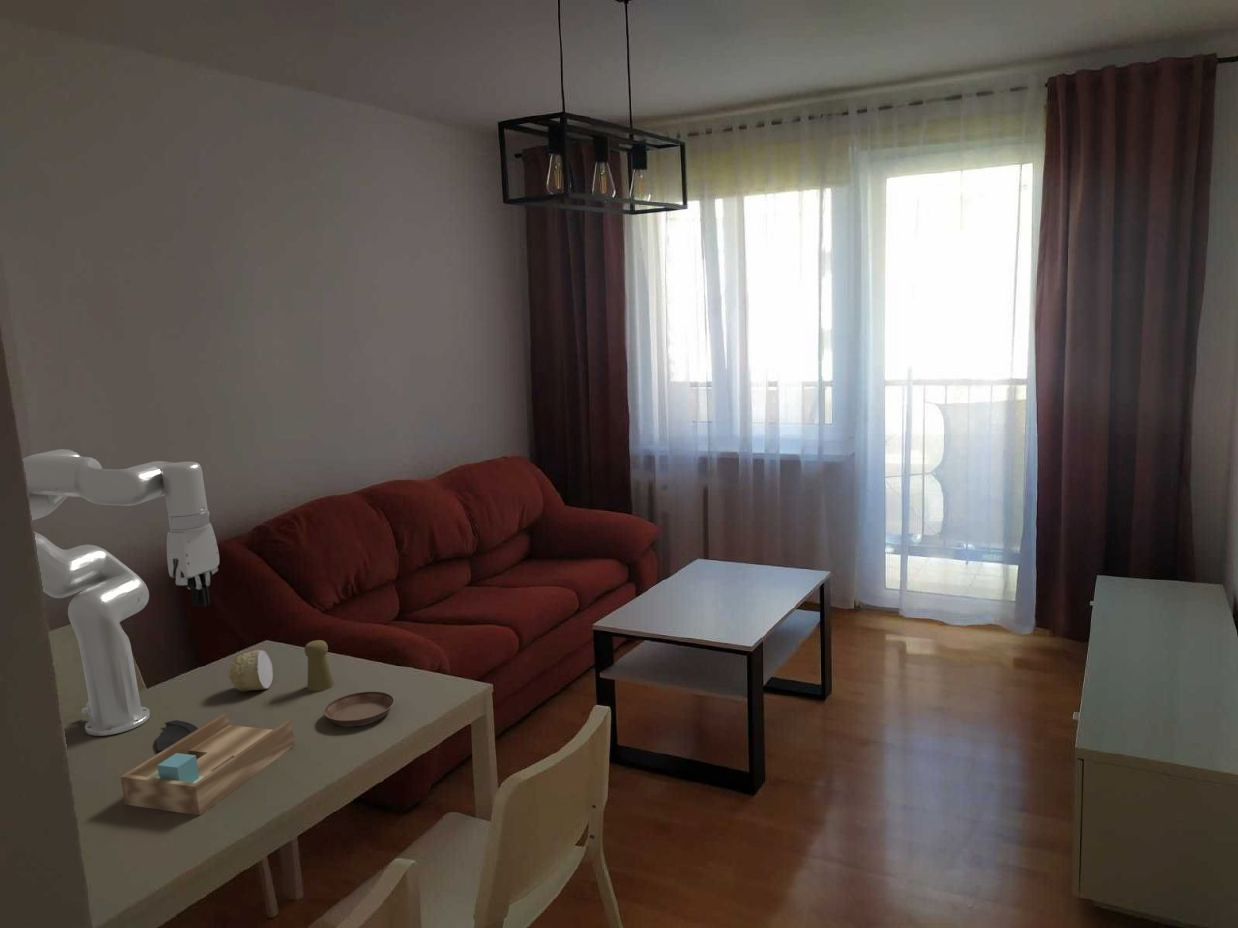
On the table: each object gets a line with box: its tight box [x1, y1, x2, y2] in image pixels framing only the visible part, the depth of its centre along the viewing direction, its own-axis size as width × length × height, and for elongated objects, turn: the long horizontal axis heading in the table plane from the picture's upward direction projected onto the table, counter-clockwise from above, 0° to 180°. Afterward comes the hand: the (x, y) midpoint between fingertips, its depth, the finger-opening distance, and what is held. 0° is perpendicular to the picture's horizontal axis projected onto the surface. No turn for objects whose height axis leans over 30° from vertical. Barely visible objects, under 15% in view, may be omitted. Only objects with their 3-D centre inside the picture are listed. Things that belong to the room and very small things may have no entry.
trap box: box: [120, 713, 296, 816], centre depth 173 cm, size 17×26×6 cm, turn 162°
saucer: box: [323, 690, 395, 728], centre depth 195 cm, size 15×15×3 cm
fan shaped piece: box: [155, 719, 199, 754], centre depth 190 cm, size 8×14×2 cm, turn 27°
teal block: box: [157, 753, 199, 783], centre depth 164 cm, size 4×4×4 cm
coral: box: [227, 649, 274, 692], centre depth 212 cm, size 10×10×10 cm
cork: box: [304, 639, 335, 693], centre depth 211 cm, size 6×6×11 cm
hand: (201, 605), depth 190 cm, fingers closed
